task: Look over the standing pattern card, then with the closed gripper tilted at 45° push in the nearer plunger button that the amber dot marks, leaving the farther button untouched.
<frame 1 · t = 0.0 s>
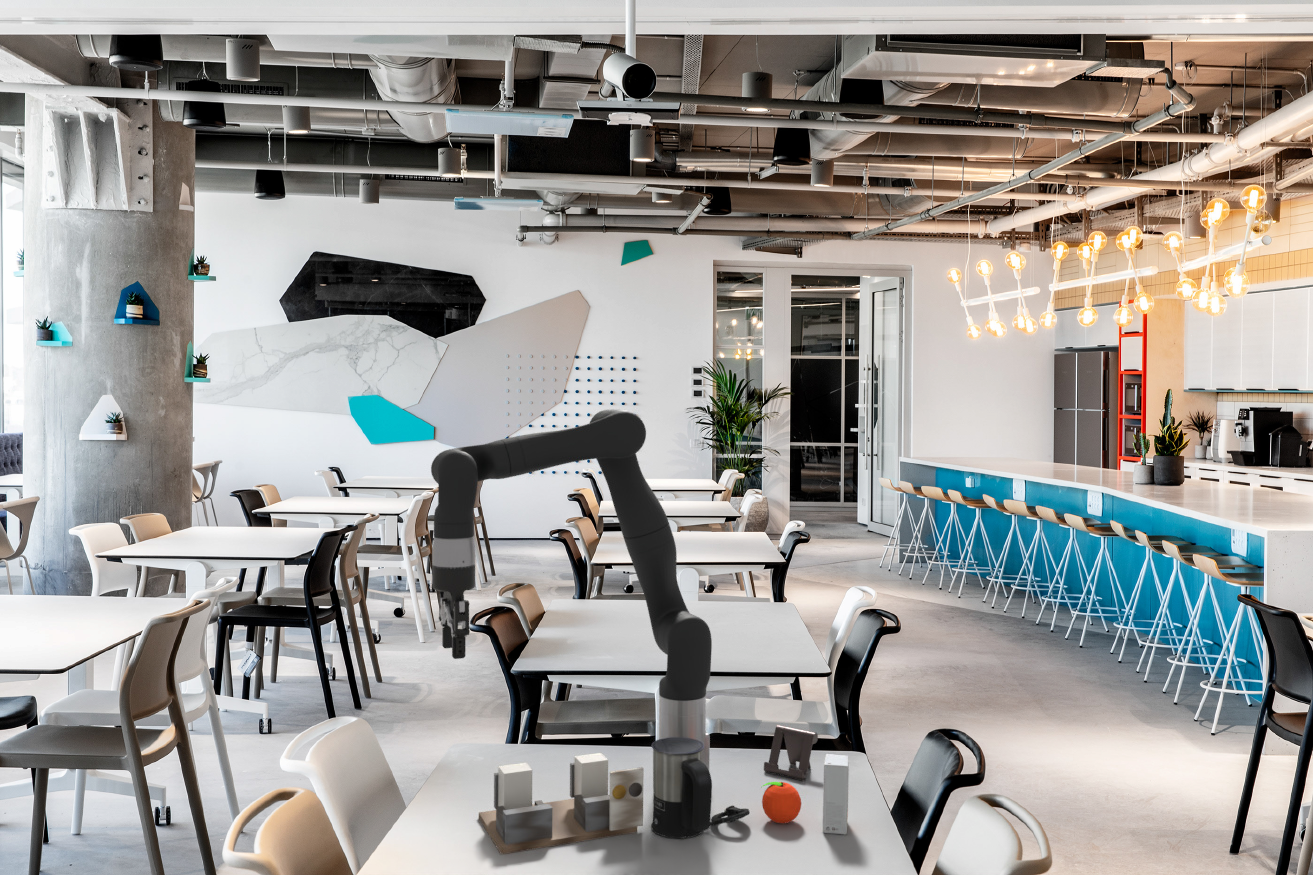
hand: (453, 652, 183), 29 cm above the table, tool pointing down, fingers open, 8 cm apart
button 2: (590, 781, 185), point 6 cm above the table, slide at 0.0 cm
portable electronic device stand: (791, 772, 207), on the table
button board: (556, 824, 180), on the table
clementine: (778, 822, 182), on the table
milk frother: (700, 828, 180), on the table
skincare box: (835, 828, 180), on the table
button 1: (514, 792, 179), point 6 cm above the table, slide at 0.0 cm
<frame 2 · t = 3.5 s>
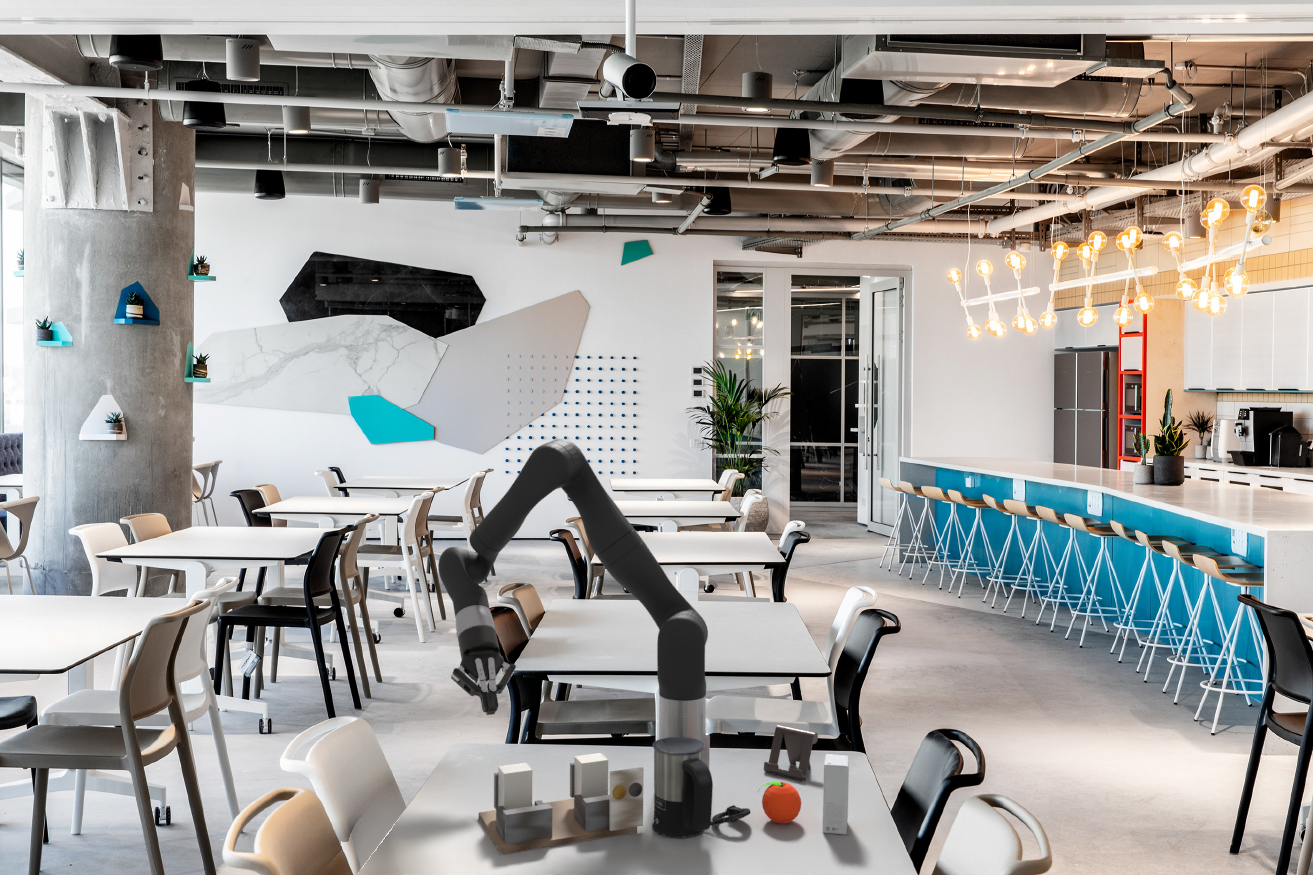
hand: (491, 712, 193), 16 cm above the table, tool tilted 45°, fingers closed
nothing on the table moved.
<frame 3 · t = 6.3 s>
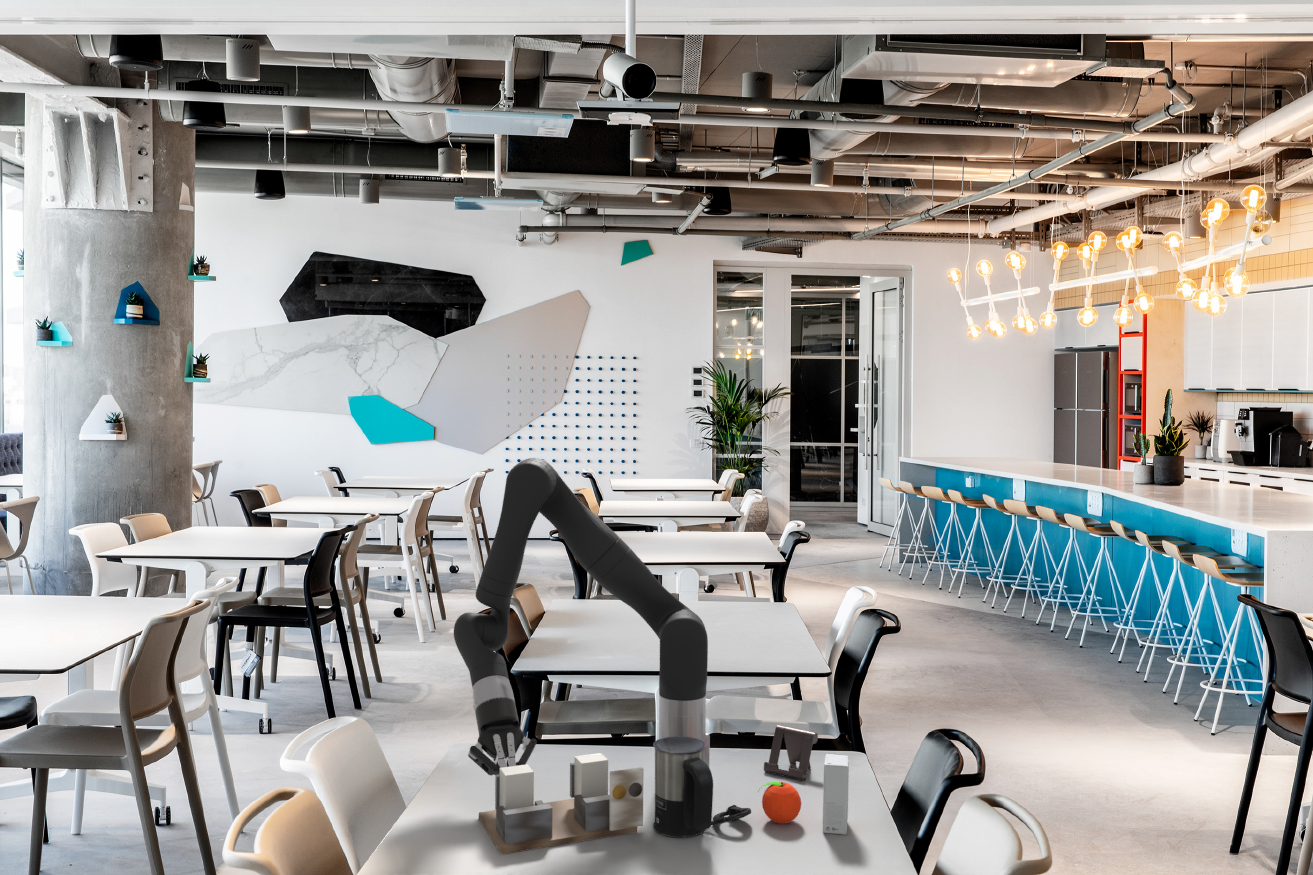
hand: (511, 793, 181), 5 cm above the table, tool tilted 45°, fingers closed
button 1: (515, 794, 178), point 6 cm above the table, slide at 0.9 cm, touching gripper
everything else where it was.
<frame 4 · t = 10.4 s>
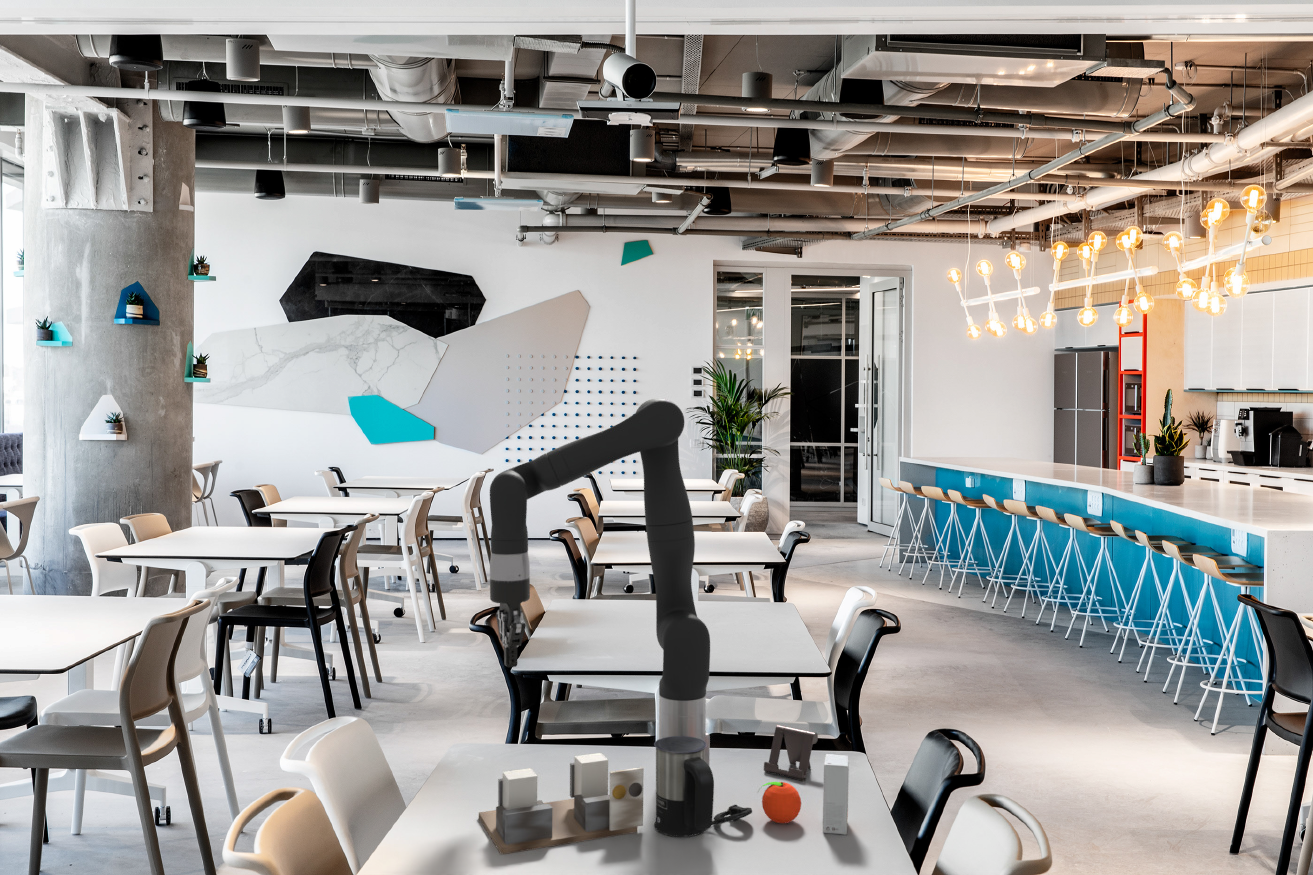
hand: (510, 665, 196), 24 cm above the table, tool pointing down, fingers closed
button 1: (519, 798, 176), point 6 cm above the table, slide at 3.0 cm
everything else where it was.
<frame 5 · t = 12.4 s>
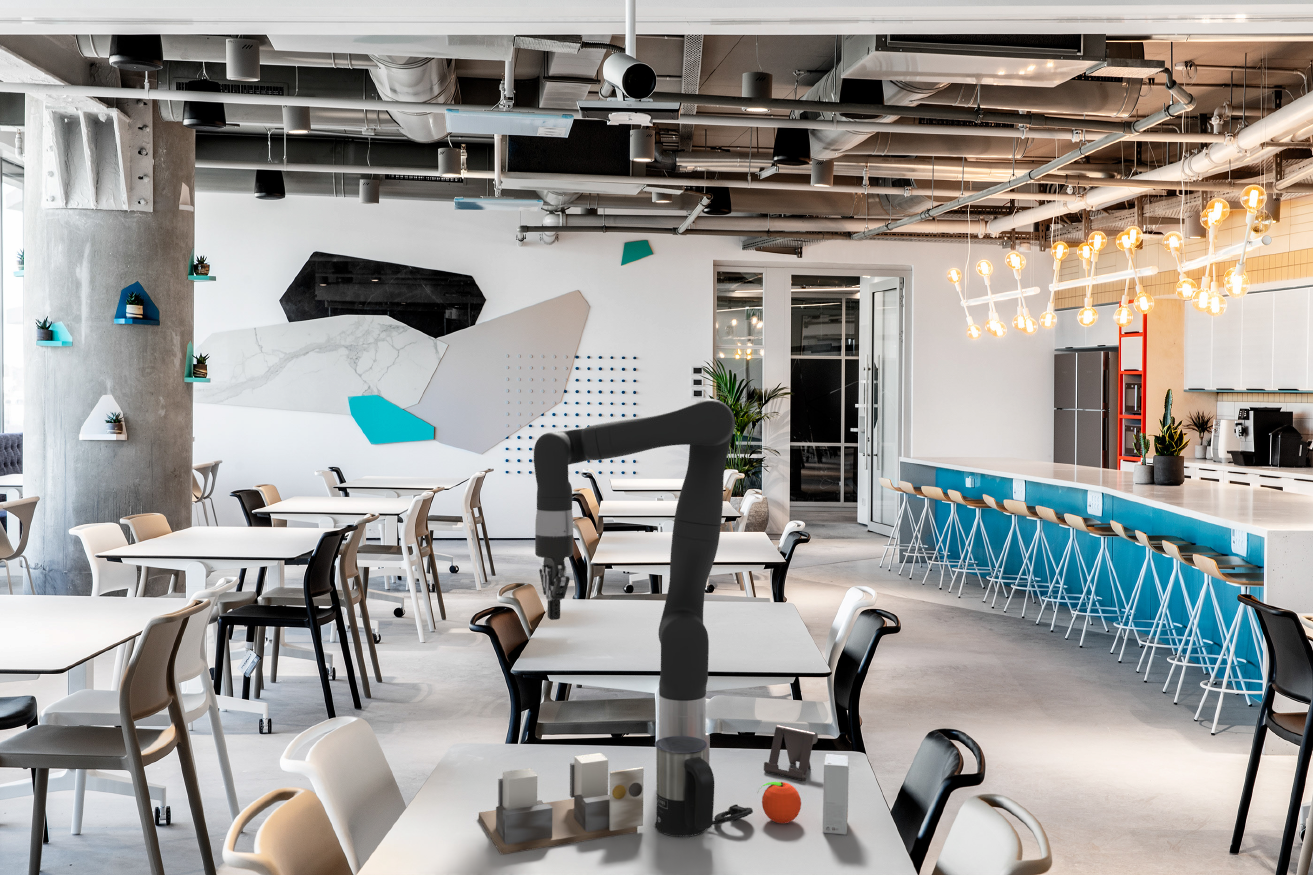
hand: (553, 618, 205), 31 cm above the table, tool pointing down, fingers closed
nothing on the table moved.
at the end: button 1 slide at 3.0 cm; button 2 slide at 0.0 cm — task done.
